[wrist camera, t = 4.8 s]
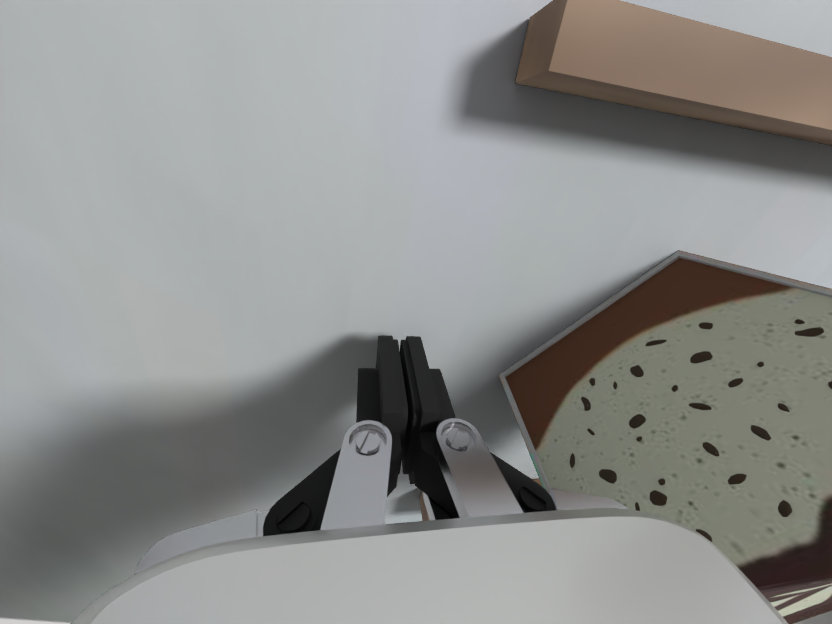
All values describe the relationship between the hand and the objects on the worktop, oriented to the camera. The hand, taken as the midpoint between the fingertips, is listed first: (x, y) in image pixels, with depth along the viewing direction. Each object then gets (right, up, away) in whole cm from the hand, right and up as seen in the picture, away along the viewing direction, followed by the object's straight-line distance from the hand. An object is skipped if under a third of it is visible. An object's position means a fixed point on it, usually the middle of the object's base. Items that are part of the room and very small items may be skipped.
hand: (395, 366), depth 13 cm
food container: (+10, 0, +3) cm, 11 cm away
